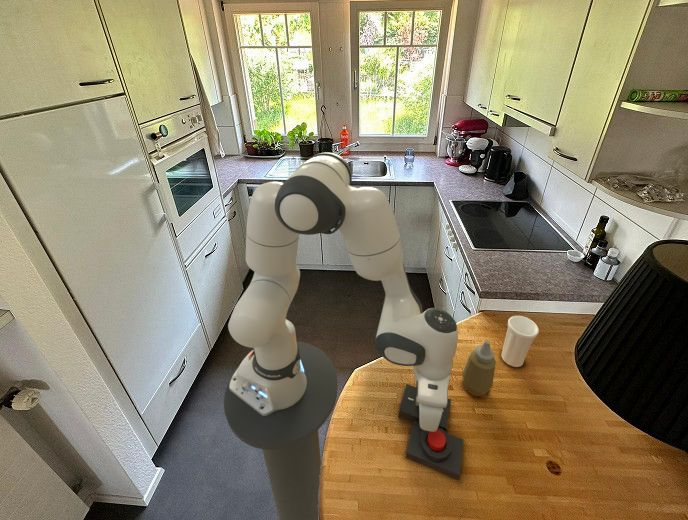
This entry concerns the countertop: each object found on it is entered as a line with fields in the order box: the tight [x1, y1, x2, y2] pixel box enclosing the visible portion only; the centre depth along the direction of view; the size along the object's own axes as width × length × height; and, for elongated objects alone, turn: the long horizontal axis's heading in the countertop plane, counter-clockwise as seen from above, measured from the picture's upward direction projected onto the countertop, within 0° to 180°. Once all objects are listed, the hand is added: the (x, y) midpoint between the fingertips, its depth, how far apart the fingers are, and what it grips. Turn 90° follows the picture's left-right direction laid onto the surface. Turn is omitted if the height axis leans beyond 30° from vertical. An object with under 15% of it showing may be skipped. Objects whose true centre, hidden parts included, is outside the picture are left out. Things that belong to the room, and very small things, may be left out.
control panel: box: [398, 383, 452, 433], centre depth 84 cm, size 12×9×3 cm
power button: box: [427, 430, 446, 452], centre depth 75 cm, size 4×4×2 cm
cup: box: [500, 315, 540, 368], centre depth 96 cm, size 8×8×14 cm
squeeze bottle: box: [461, 339, 497, 397], centre depth 87 cm, size 8×8×18 cm
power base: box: [405, 420, 464, 481], centre depth 76 cm, size 12×8×4 cm, turn 68°
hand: (425, 403), depth 83 cm, fingers open, 8 cm apart
